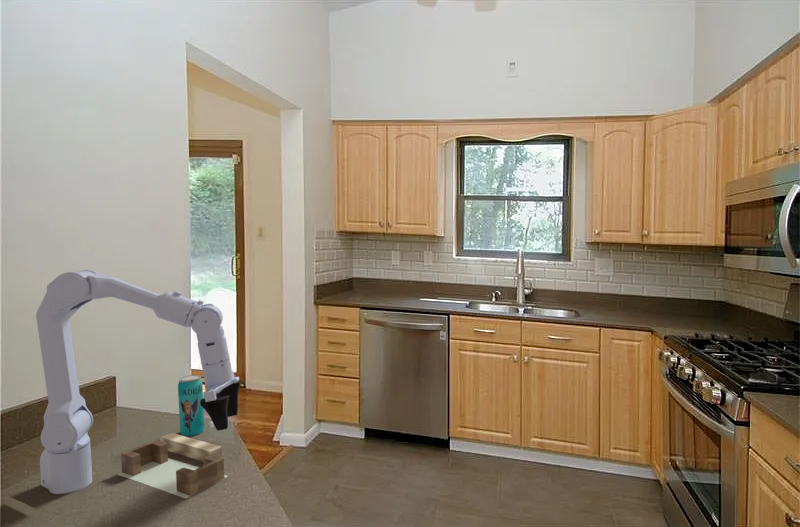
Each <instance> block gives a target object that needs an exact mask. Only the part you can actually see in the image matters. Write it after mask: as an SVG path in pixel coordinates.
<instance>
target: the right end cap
mask: <svg viewBox="0 0 800 527" xmlns="http://www.w3.org/2000/svg"><path fill="white" fill-rule="evenodd" d="M202 462H203V465H202V466H199V467H200V468H198V469H196V470H191V469H187V468H184V467H183V468H181V469H179V470H177V471H176V483H177V491H178V492H181V493H183V494H186V495H189V496H190V497H191V495H192V496H193V494H194V495H195V493H196V494H197V492H198V493H199V492H202V491H203V490H205V489H207V488H209V487H211V486H212V484H213V485H215V484H217V483H218V482H220V481H222V480H224V479H225V478H224V475H225V462H224V458H223V457H222V458H219V457H216V456H212V455H209V456H207V457H205V458H203V461H202ZM223 478H224V479H223ZM214 483H215V484H214ZM210 485H211V486H210ZM208 486H209V487H208ZM206 487H207V488H206Z"/></svg>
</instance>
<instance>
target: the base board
mask: <svg viewBox="0 0 800 527" xmlns="http://www.w3.org/2000/svg"><path fill="white" fill-rule="evenodd" d="M183 467H184V468H187V469H191V470H196V469H198V468H200V467H201V466H195V465H192V464H190V463H186V462H183V461H181V460H176V459H173V458H169V457H168V461H167V462H165V463H162V464H159V463H156V462H153V461H152V462H150V463H148V464H145V465H143V466H141V473H140V474H137V475H135V476H131V475H128V474H126V473H123V472H122V471H121V472H120V473H117V474H116V475H117V476H121V477H124V478H127V479H129V480H131V481H135V482H138V483H141V484H142V485H143V484H144V485H147V486H149V487H151V488H154V489H158V490H161V491H164V492H166V493H169V494H172V495H175V496H177V497H180V498H183V499H188V498H190V497H191V496H193V495H195V494H197V493H199V492H197V493H195V494H193V495H191V496H189V495H186V494H183V493H181V492H178V491H177V483H176V471H177V470H179V469H181V468H183ZM227 477H229V475H226V474H224V478H223V479H222V480H224V479H225V478H227ZM215 484H216V483H214V484H212V485H215ZM212 485H210V486H208V487H206V488H205V489H207V488H209V487H211V486H212Z"/></svg>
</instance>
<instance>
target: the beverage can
mask: <svg viewBox="0 0 800 527" xmlns="http://www.w3.org/2000/svg"><path fill="white" fill-rule="evenodd" d="M177 393H178V394H177V395H178V396H177V397H178V413H179V416H178V417H179V432H180V434H181V435H182V436H185V437H192V436H196V435H197V436H198V435H199V434H202V433H203V432H204V430H205V414H204V411H205V409H204V408H203V407H202V406H201V405H200V401H201V400H202V399H203V398H204V388H203V381H202V376H201V375H197V374H196V375H195V374H191V375H184V376H182V377H180V378H178V385H177Z"/></svg>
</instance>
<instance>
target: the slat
mask: <svg viewBox="0 0 800 527" xmlns="http://www.w3.org/2000/svg"><path fill="white" fill-rule="evenodd" d="M159 441H161V442H165V443H167V449H168V452H171V453H174V454H178V455H180V456H184V457H187V458H191V459H192V460H197V461H200V462H203V458H205V457H207V456H209V455H212V456H216V457H219V458H223V447H222V446H221V445H218V444H214V443H209V442H207V441H203V440H198V439H195V438H193V437H190V436H183V435H182V434H181V435H180V434H177V433H174V432H170V433H167V434H164V435H162V436H160V437H159Z"/></svg>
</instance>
